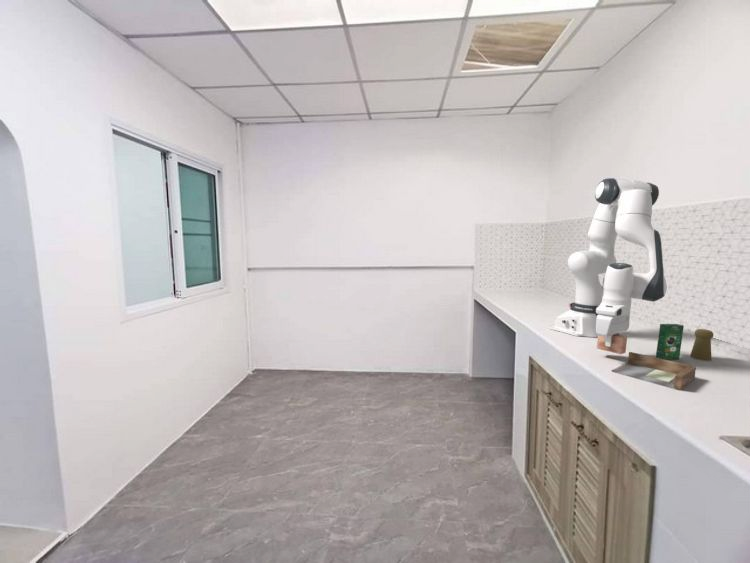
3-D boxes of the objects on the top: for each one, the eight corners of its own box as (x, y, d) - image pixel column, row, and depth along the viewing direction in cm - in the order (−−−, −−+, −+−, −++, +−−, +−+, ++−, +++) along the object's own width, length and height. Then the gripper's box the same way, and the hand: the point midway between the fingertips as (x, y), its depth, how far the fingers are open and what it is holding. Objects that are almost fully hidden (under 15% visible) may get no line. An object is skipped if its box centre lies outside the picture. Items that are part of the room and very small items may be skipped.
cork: (692, 358, 133) (696, 330, 131) (687, 354, 138) (691, 326, 137) (714, 361, 130) (718, 332, 129) (708, 357, 135) (712, 329, 134)
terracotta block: (596, 348, 132) (598, 332, 132) (601, 346, 135) (602, 331, 134) (621, 354, 126) (623, 338, 125) (625, 352, 128) (627, 336, 128)
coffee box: (672, 356, 135) (676, 323, 133) (680, 359, 132) (684, 324, 130) (654, 357, 133) (659, 323, 131) (662, 360, 130) (666, 325, 129)
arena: (611, 371, 117) (612, 359, 117) (629, 362, 126) (630, 351, 126) (680, 390, 103) (681, 377, 103) (694, 379, 112) (696, 366, 112)
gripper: (617, 304, 137) (613, 338, 139) (593, 309, 125) (590, 347, 127) (636, 306, 132) (632, 342, 134) (614, 312, 120) (609, 351, 122)
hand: (611, 344), depth 130 cm, fingers closed on terracotta block, 4 cm apart
